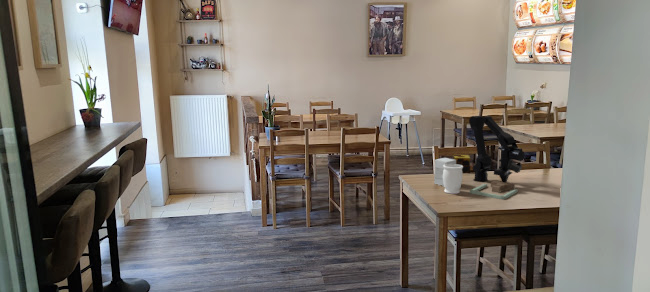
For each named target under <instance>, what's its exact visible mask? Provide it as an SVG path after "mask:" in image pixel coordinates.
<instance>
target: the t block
mask: <svg viewBox="0 0 650 292" xmlns="http://www.w3.org/2000/svg"><path fill="white" fill-rule="evenodd" d="M515 186H516V184H515V183H509V182H506V183H504V182H502V181H497V180H493V181H490V188H491V192H492V193H501V192H503V191H508V192H510V191H512V190H514V189H516V187H515Z"/></svg>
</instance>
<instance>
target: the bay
mask: <svg viewBox="0 0 650 292" xmlns="http://www.w3.org/2000/svg"><path fill="white" fill-rule="evenodd" d="M487 187H488V183H484V184H480V185H478V186H476V187H474V188H473V189H470V190H469V194H471V195H472V194H473V195H478V196H483V197H487V198H494V199H499V200H503V201H504V200H506V199H507V198H509V197H512V196H513V195H515V194H517V193H518V192H519V191H518V188H514V190H512V191H507V193H505V194H502V195H499V194H494V193H490V192H489V193H488V192H486V191H485V192H483V191H481V190H482V189H486V188H487Z"/></svg>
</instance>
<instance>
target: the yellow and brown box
mask: <svg viewBox="0 0 650 292" xmlns="http://www.w3.org/2000/svg"><path fill="white" fill-rule="evenodd" d="M460 155H461V156H454V155H453V159H454V160H456V164H458V165H462V166H463V168H462V173H463V174H465V173H466V174H471V164H470V163H471V157H470V155H468V154H460Z"/></svg>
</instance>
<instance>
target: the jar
mask: <svg viewBox="0 0 650 292" xmlns="http://www.w3.org/2000/svg"><path fill="white" fill-rule="evenodd" d="M443 168H444V170H443V184H444V186H443V187H444V192H445V194H452V195H453V194H454V195H456V194H459V193H461V190H460V189H461V187H462V182H463V176H464V175H463V174H464V173H462V168H463V166H462V165H458V164H445V165H443Z"/></svg>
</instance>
